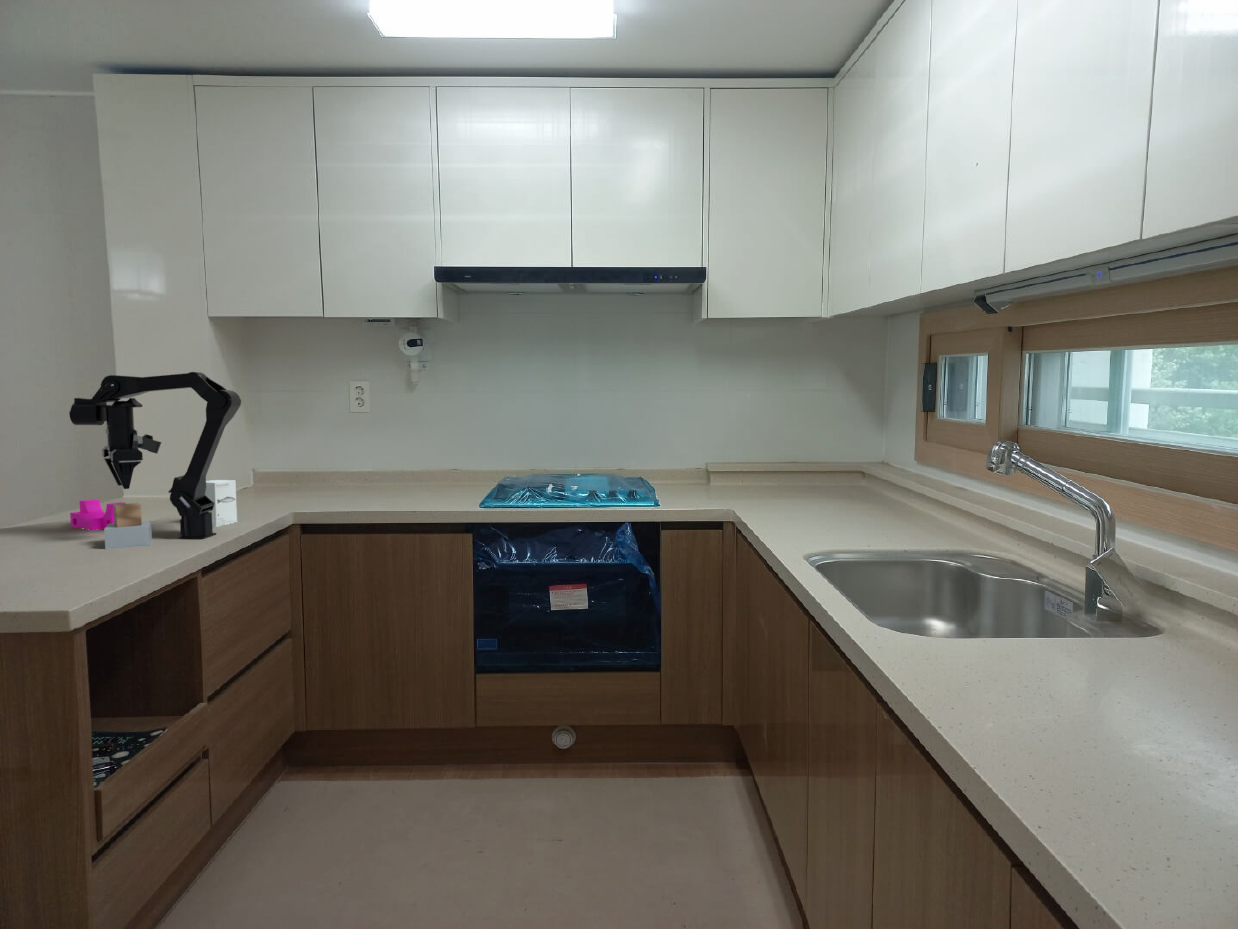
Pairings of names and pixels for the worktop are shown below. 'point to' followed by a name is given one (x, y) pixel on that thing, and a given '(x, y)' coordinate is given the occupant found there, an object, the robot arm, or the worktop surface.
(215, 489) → the supplement box
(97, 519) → the toy block
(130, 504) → the walnut cube
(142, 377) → the robot arm
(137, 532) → the slate base block
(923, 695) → the worktop surface
